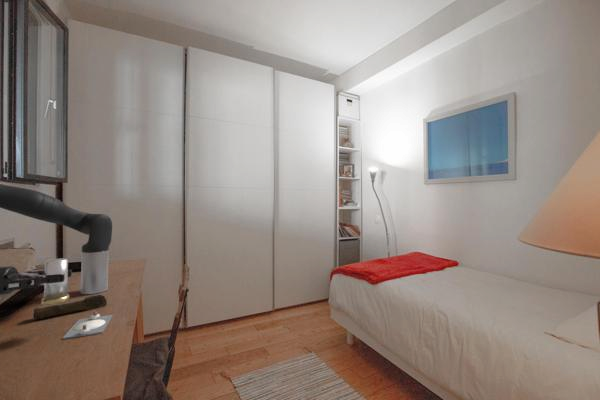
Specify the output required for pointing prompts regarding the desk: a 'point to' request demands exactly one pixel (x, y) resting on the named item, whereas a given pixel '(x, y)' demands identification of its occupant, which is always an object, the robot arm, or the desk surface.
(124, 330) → the desk surface
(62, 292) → the clear glass cylinder
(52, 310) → the hand tool
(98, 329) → the board
